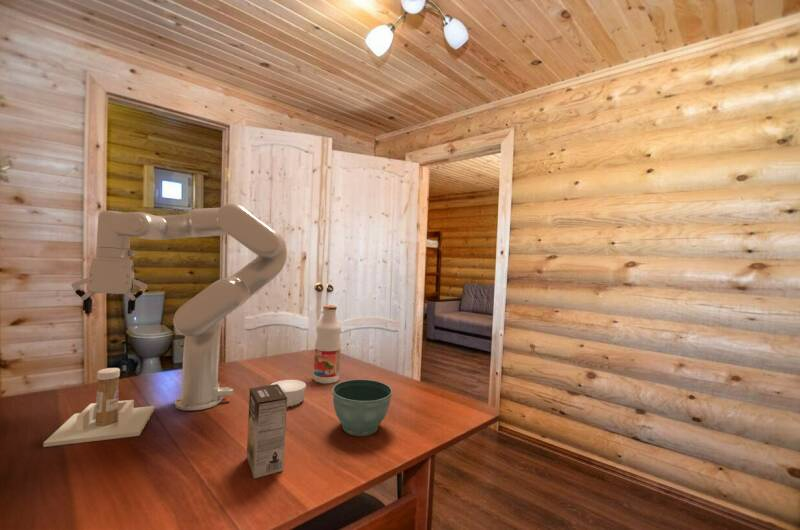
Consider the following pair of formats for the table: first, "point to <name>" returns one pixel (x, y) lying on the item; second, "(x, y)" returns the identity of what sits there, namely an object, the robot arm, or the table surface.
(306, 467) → the table surface
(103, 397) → the sprinkles bottle
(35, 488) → the table surface
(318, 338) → the fruit juice
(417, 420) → the table surface
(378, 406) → the flower pot
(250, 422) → the coffee box
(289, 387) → the ramekin
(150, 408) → the u rest
